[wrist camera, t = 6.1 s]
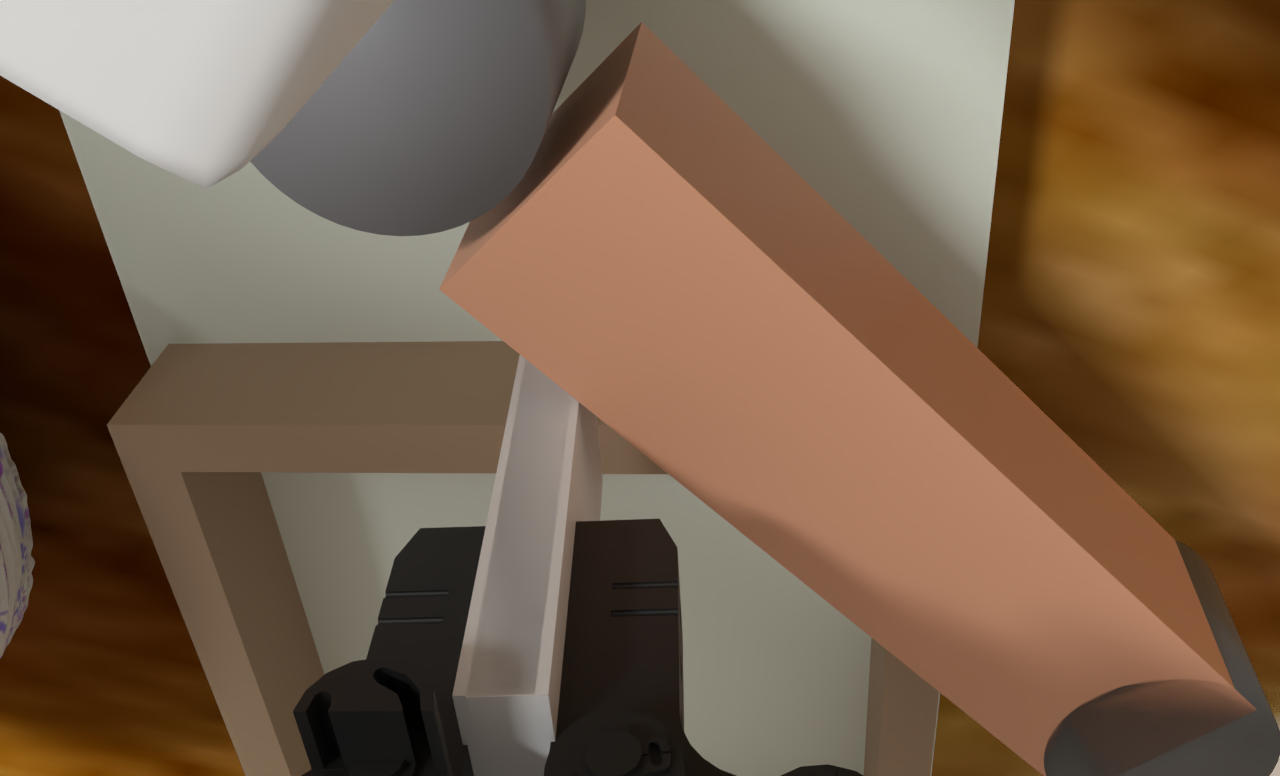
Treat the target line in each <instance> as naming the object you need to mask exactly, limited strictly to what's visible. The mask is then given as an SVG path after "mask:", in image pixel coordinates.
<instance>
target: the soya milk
mask: <svg viewBox="0 0 1280 776" xmlns="http://www.w3.org/2000/svg"><path fill="white" fill-rule="evenodd" d="M394 1H395V0H0V76H2V77H4V78H5V79H7V80H9V81H10V82H12V83H14V84H16V85H17V86H19V87H21V88H22V89H24V90H26V91H27V92H29V93H31V94H33V95H34V96H36V97H38V98H39V99H41V100H43V101H44V102H46V103H48V104H50V105H51V106H53V107H55V108H56V109H58V110H60V111H61V112H63V113H65V114H67V115H68V116H70V117H72V118H73V119H75V120H77V121H78V122H80V123H82V124H84V125H85V126H87V127H89V128H90V129H92V130H94V131H95V132H97V133H99V134H101V135H102V136H104V137H106V138H107V139H109V140H111V141H112V142H114V143H116V144H118V145H119V146H121V147H123V148H124V149H126V150H128V151H130V152H131V153H133V154H135V155H136V156H138V157H140V158H142V159H144V160H146V161H148V162H150V163H152V164H154V165H157V166H159V167H161V168H163V169H165V170H167V171H169V172H171V173H173V174H175V175H177V176H179V177H181V178H184V179H186V180H188V181H190V182H192V183H194V184H196V185H198V186H200V187H202V188H204V189H208V188H209V187H211V186H213V185H215V184H216V183H218V182H220V181H222V180H224V179H225V178H227V177H229V176H231V175H232V174H234V173H236V172H238V171H240V170H241V169H242V168H243V167H244V166H245V165H246V164H247V163H249V162H250V161H251V160H252V159H253V158H254V157H255V156H256V155H257V154H258V153H259V152H260V151H261V150H262V149H264V148H265V147H266V146H267V145H268V144H269V143H270V142H271V141H272V140H273V139H274V138H275V137H276V136H277V135H278V134H279V133H280V132H281V131H282V130H283V128H284V127H285V126H286V125H287V124H288V123H289V122H290V120H291V119H292V118H293V117H294V116H295V115H296V113H297V112H298V111H299V110H300V109H301V108H302V107H303V105H304V104H305V103H306V102H307V101H308V100H309V99H310V97H311V96H312V95H313V94H314V93H315V92H316V90H317V89H318V88H319V87H320V86H321V85H322V84H323V82H324V81H325V80H326V79H327V78H328V77H329V75H330V74H331V73H332V72H333V71H334V70H335V69H336V67H337V66H338V65H339V64H340V63H341V62H342V60H343V59H344V58H345V57H346V56H347V55H348V54H349V52H350V51H351V50H352V49H353V48H354V47H355V46H356V44H357V43H358V42H359V41H360V40H361V39H362V37H363V36H364V35H365V34H366V33H367V32H368V31H369V29H370V28H371V27H372V26H373V25H374V24H375V22H376V21H377V20H378V19H379V18H380V17H381V16H382V14H383V13H384V12H385V11H386V10H387V9H388V7H389V6H390V5H391V4H392V3H393V2H394Z"/></svg>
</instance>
